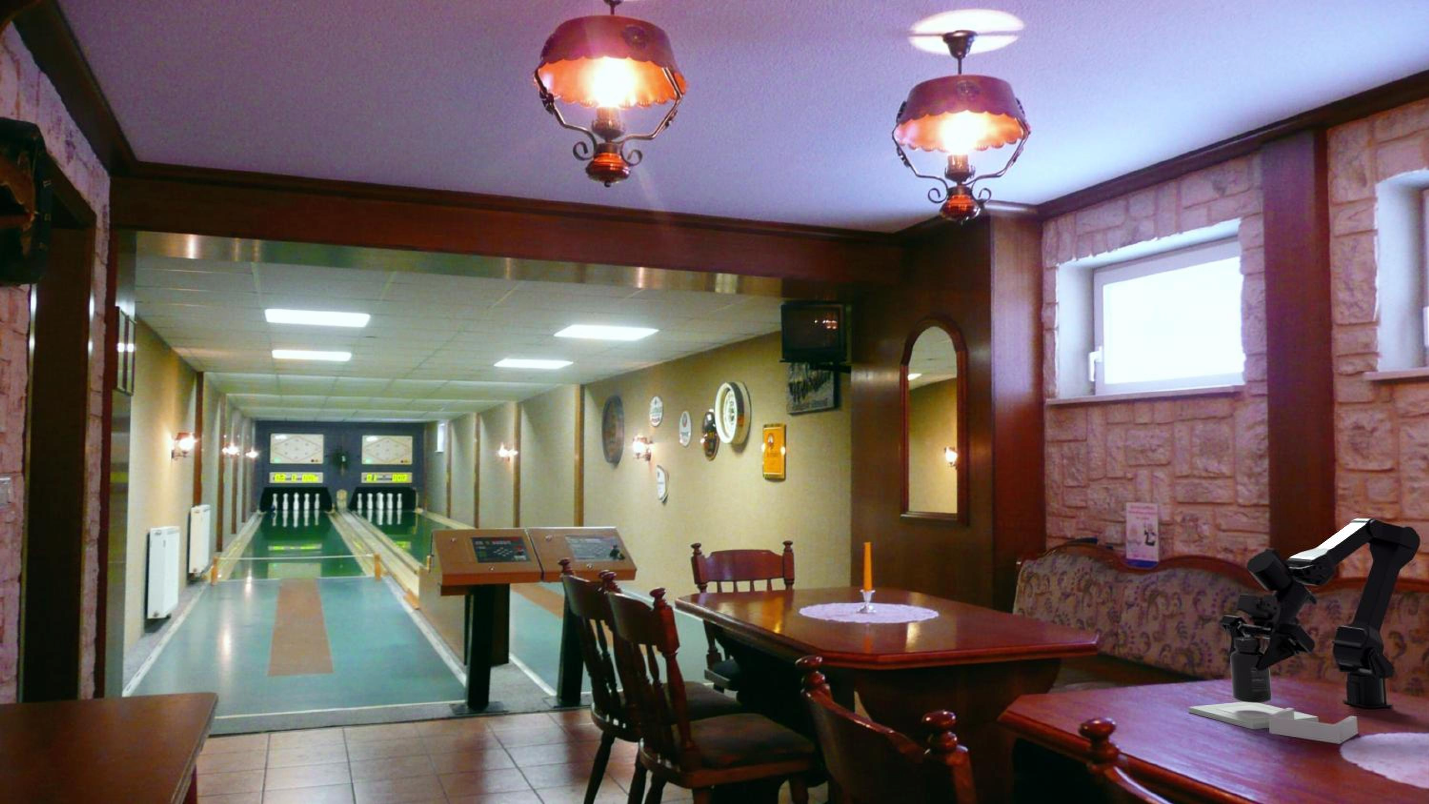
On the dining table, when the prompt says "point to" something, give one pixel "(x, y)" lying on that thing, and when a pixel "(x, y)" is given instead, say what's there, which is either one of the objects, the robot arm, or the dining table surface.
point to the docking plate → (1245, 714)
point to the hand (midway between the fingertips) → (1244, 666)
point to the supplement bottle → (1249, 672)
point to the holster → (1312, 727)
